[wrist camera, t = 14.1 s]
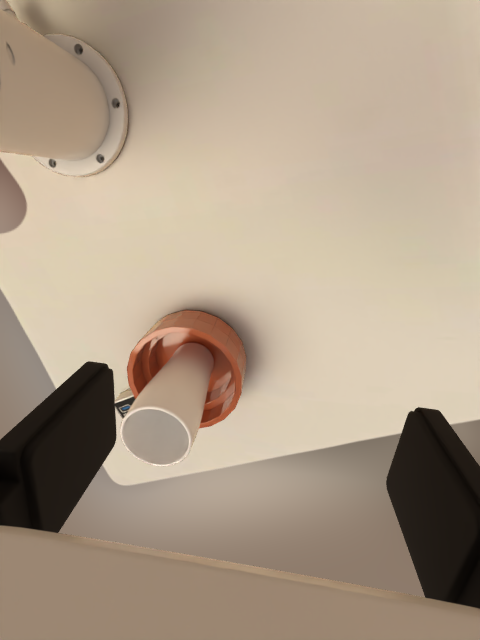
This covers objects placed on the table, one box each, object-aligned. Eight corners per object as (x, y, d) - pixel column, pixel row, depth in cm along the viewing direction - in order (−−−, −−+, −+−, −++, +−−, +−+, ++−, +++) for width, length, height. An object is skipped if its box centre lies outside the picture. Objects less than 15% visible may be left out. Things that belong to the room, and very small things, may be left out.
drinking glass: (173, 382, 46) (127, 467, 32) (165, 336, 43) (110, 406, 29) (223, 381, 45) (197, 468, 31) (217, 334, 42) (186, 405, 29)
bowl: (125, 341, 45) (104, 363, 39) (206, 288, 41) (194, 304, 36) (186, 415, 48) (174, 444, 43) (266, 372, 44) (264, 399, 39)
